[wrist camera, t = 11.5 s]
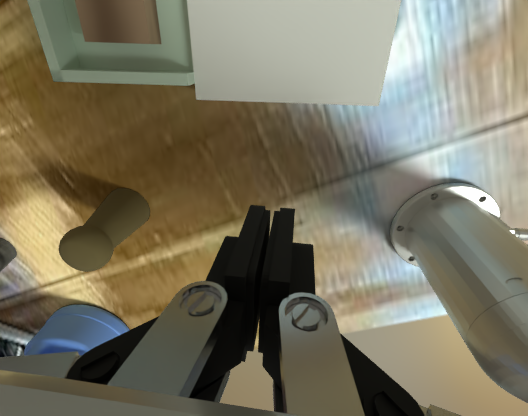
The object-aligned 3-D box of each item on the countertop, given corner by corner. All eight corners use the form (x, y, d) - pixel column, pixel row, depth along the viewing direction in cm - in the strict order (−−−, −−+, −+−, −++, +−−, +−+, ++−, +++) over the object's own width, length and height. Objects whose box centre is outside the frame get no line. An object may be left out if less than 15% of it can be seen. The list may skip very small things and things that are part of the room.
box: (190, -72, 24) (169, -99, 20) (203, 80, 30) (188, 85, 26) (47, -72, 25) (-5, -98, 20) (86, 77, 31) (53, 81, 26)
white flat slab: (410, -99, 22) (426, -118, 20) (370, 101, 30) (378, 105, 27) (188, -97, 23) (176, -115, 21) (204, 95, 31) (196, 99, 28)
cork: (146, 189, 37) (96, 237, 28) (153, 227, 40) (111, 282, 31) (102, 186, 37) (38, 233, 28) (112, 224, 40) (58, 277, 31)
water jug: (151, 347, 55) (41, 584, 30) (91, 360, 59) (-48, 579, 35) (99, 293, 48) (-94, 541, 24) (36, 312, 52) (-184, 541, 28)
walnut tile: (150, -37, 24) (136, -46, 22) (161, 44, 27) (150, 43, 25) (83, -39, 24) (62, -47, 22) (101, 42, 27) (84, 41, 25)
